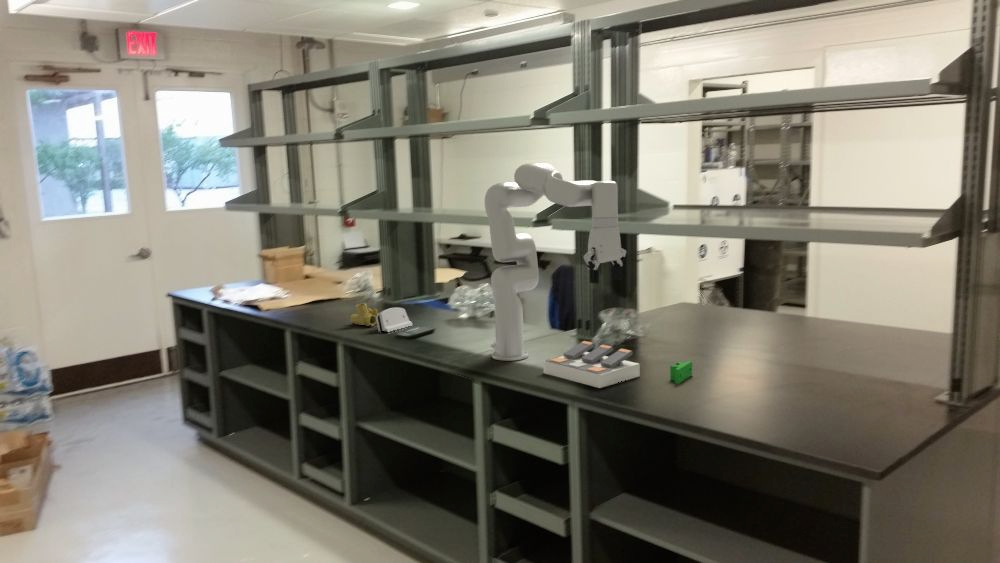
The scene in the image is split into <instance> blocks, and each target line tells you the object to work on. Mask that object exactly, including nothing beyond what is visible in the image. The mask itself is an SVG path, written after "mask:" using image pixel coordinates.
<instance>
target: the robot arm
mask: <svg viewBox="0 0 1000 563" xmlns="http://www.w3.org/2000/svg"><path fill="white" fill-rule="evenodd" d="M513 178H514V181H505V182H498V183H495V184H492V185H491V186H490V187H489V188H488V189H487V190H486V193H485V196H484V209H485V213H486V216H487V221H488V224H489V235H490V244H491V251H492V255H493V258H494V260H495V261H496V262H500V263H509V262H510V263H511V262H516V264H514V265H505V266H500V267H498V268H496V269H495V270H494V271H493V272H492V273H491V276H490V284H491V290H492V293H493V301H494V317H495V318H494V322H495V324H494V325H495V341H494V342H493V343H491V344H490V347H491V348H492V349H494V351H493V352H492V353H491V358H492V359H494V360H496V361H504V362H505V361H506V362H507V361H510V362H511V361H520V360H525V359H527V358H528V357H529V352H528V351H526V350H524V347H525V346H524V320H523V319H524V317H523V315H524V314H523V304H522V302H521V299H520V297H519V295H518V293H523V292H529V291H532V290H534V289H535V288H536V287H537V286H538V284H539V280H540V279H539V278H540V273H539V265H538V256H537V254H538V253H537V247H536V246H537V245H536V243H535V241H534V239H533V237H532V236H531V235H530V234H528V233H526V232H516V229H515V220H514V217H512V215H511V213H510V211H509V210H508V208H521V207H522V208H523V207H524V208H525V207H530V206H533V205H534V204H535V203H537V202H538V201H539V200H540V199H541V198H542V197H543V196H545V198H546V199H547V200H548V201H550V202H551V203H554V204H557V205H561V206H564V207H569V208H573V207H574V208H575V207H588V206H589V207H590V206H591V228H590V229H589V235H588V241H587V242H588V243H587V252H586V253H585V254H583V257H582V258H583V260H584V262H585V263H584V264H585V266H587V269H588V270H589V283H590V284H595V285H596V284H599V283H600V270H599V269H598V268H599V266H600V264H603V263H604V264H605V263H609V262H610V263H612V265H611V266H612V267H611V279H612V280H619V281H621V280H622V267H623V265H624V261H625V259H626V258H625V257H626V254H627V250H626V249H624V248H622V242H621V233H620V229H619V217H618V216H619V215H618V214H619V213H618V211H619V209H618V208H619V204H618V202H619V200H618V195H619V194H618V192H619V191H618V184H617V182H616V181H614V180H599V181H596V180H573V181H570V180H565V179H563V175H562V174H561V172H559V171H558V170H556V169H555V167H554V166H552V164H550V163H546V162H545V163H543V162H542V163H541V162H539V163H536V162H534V163H525V164H521V165H519V166H518V167H517V168H516V170H515V172H514V174H513Z"/></svg>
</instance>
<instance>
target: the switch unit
mask: <svg viewBox="0 0 1000 563" xmlns="http://www.w3.org/2000/svg"><path fill="white" fill-rule="evenodd" d="M590 352H591V351H590ZM590 352H588V351H586V352H585V353H583V354H582V355H580V356H578V357H577V358H575V359H570V358H566V357H564V355H562V356H561V355H560V356H557V357H554V358H550V359H549V358H548V359H545V360H543V374H544V375H549V376H553V377H556V378H561V379H565V380H568V381H572V382H576V383H579V384H583V385H587V386H591V387H594V388H598V389H601V388H604V387H609V386H612V385H615V384H619V383H622V382H625V380H626V381H629V380H631V379H635V378H638V377H640V375H641V371H640V370H641V369H640V368H641V363H638V362H633V361H630V360H627V359H625V360H624V361H622V362H621V363H619V364H618V365H616V366H615V367H613V368H608V367H604V366H601V363H600V362H601V361H603V360H605V359H606V358H608V357H609V356H607V355H605V356H604V357H602V358H600V359H599V360H597V361H596V362H594V363H593V364H591V363H587V362H583V361H582V359H581V358H582V357H583V356H585V355H587V354H588V353H590ZM621 381H622V382H621ZM618 382H619V383H618Z"/></svg>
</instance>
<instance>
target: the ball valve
mask: <svg viewBox="0 0 1000 563" xmlns="http://www.w3.org/2000/svg"><path fill="white" fill-rule="evenodd" d="M355 309H356V313H353V314H351V316H350V321H349V322H350V323H351V324H352V323H355V324H354V325H359V326H360V325H371V326H370V327H372V326H373V327H374V326H375V325H377V322H376V316H377V315H378V314H379V311H378V310H379V309H378V308H373V309H372V308H370V307H368V305H367V303H365V302H362V303H359V304H356V305H355Z"/></svg>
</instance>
